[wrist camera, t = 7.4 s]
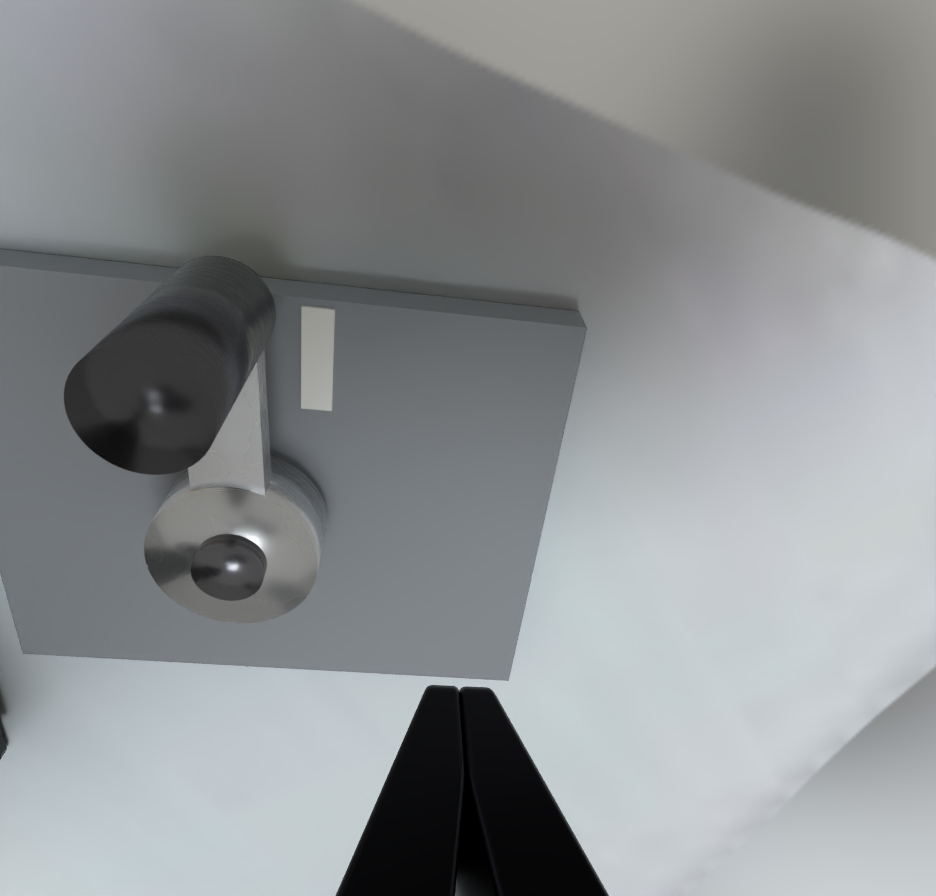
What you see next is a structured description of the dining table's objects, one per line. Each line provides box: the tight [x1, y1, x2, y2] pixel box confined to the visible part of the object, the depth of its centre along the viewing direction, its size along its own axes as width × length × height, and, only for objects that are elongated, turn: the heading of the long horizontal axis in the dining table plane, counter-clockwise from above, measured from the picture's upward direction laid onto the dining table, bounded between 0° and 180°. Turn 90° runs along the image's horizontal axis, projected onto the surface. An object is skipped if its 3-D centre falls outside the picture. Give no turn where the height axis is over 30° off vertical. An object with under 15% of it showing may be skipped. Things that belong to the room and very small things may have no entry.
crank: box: [64, 256, 328, 623], centre depth 16 cm, size 10×4×6 cm, turn 174°
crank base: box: [0, 249, 587, 681], centre depth 20 cm, size 16×13×4 cm
